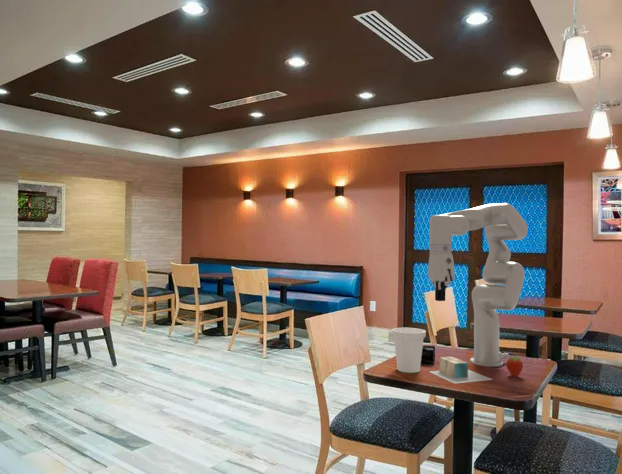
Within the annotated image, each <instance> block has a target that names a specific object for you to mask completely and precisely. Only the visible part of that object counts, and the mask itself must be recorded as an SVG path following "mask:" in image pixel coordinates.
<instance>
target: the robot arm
mask: <svg viewBox="0 0 622 474" xmlns="http://www.w3.org/2000/svg"><path fill="white" fill-rule="evenodd" d="M482 228H484V234H485V237H486V240H487V241H486V242H487V244H488V248H489V252H488V255H487V257H486V262H485V264H484V268H483V272H482V279H483V281H484V282H485V283H486V284H485V283H482V284H478V285H475V286H474V287H473V289H472V291H471V302H472V307H473V318H474V319H473V322H474V323H473V357H470V359H469V362H470V363H471V364H473V365H476V366H480V367H491V368H499V367H502V366H503V365H504V361H503V358H504V359H507V358H509V357H510V354H509V353H508V352H503V353H502V352H501V351H500V318H499V315H498V313H497V312H496V310H497V311H500V310H501V311H512V310H515V308H516V307H517V305H518V302H519V299H520V295H521V292H522V289H523V285H524V282H525V269H524V266H523V265H522V264H521V263H519V262H516V261H510V260H511V256H512V253H511V249H510V248H509V247H508V245H507V244H506V242H505V241H519V240H524V239H525V238H526V237H527V235H528V229H529V227H528V225H527V221H525V219H524V218H523V217H522V215H521V214H520V212H519V211H518V210H517V209H516V208H515V206H513V205H512V204H510V203H508V202H502V203H500V202H498V203H487V204H482V205H479V206H475V207H472V208H467V209H462V210H458V211H457V210H456V211H453V212H447V213H443V214H434V215H431V217H430V218H429V257H428V267H427V269H428V271H427V273H428V279H429V280H430V281H429V282H430V283H431V284H433V287H434V294H435V295H434V301H437V302H445V301H446V290H447V287H448V286H451V284H452V282H453V281H455V263H454V255H453V253H452V237H459V236H464V235H466V234H467V233H468V232H469V231H471V232H472V231H477V230H480V229H482Z"/></svg>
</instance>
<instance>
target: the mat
mask: <svg viewBox="0 0 622 474" xmlns="http://www.w3.org/2000/svg"><path fill="white" fill-rule="evenodd" d="M428 373H430V374H433V375H435V376H437V377H438V378H441V379H442V380H446V381H448V382H449V383H452V384H453V385H456V384H463V383H465V384H466V383H474V382H483V381H485V382H486V381H493V380H494V379H493V378H490V377H488V376H485V375H482V374H480V373H477V372H476V371H473V370H470V369H468V377H462V378H455V377H452V376H450V375H448V374H446V373H443V372H441V371H440V370H430V371H428Z"/></svg>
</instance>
